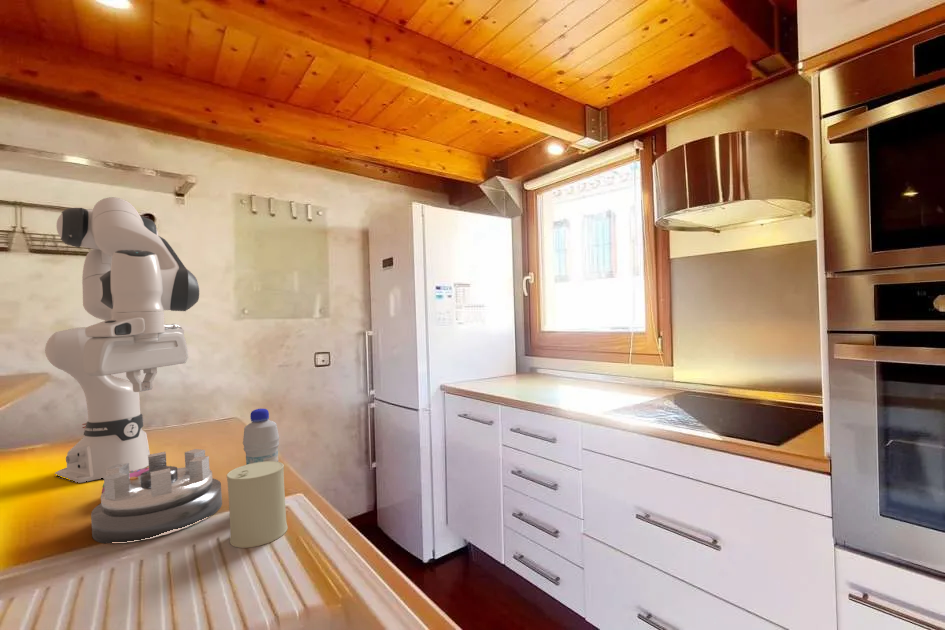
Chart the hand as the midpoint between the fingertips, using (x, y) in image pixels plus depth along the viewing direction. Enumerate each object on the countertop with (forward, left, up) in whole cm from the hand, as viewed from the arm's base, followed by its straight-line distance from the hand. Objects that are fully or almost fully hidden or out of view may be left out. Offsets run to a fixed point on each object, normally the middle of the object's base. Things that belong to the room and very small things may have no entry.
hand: (142, 390), depth 95 cm
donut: (-7, +4, -25) cm, 26 cm away
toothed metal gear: (+8, -4, -20) cm, 22 cm away
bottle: (+27, +4, -25) cm, 36 cm away
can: (+35, -6, -25) cm, 43 cm away
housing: (+9, -4, -24) cm, 26 cm away
